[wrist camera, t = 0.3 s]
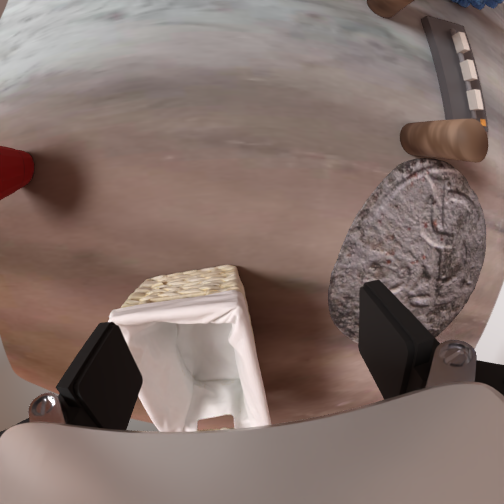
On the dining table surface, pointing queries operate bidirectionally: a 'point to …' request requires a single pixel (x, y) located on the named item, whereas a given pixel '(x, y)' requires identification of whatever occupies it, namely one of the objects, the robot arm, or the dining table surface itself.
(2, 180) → the plastic cup
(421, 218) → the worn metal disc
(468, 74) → the switch rocker
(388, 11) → the post inner
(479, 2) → the grapes
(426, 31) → the power strip
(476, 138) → the post outer
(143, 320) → the storage basket
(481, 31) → the dining table surface
